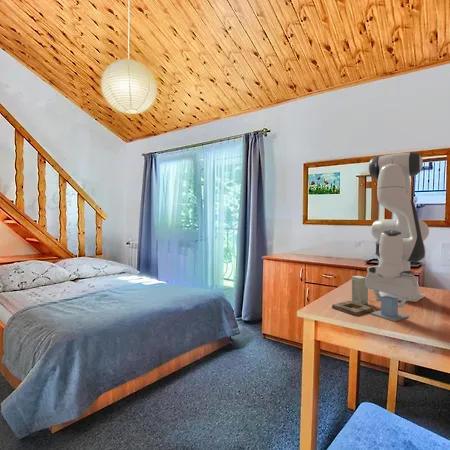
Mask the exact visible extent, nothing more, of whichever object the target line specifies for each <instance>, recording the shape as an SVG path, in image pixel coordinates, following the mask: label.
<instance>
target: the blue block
mask: <svg viewBox="0 0 450 450" xmlns="http://www.w3.org/2000/svg"><path fill="white" fill-rule="evenodd" d="M380 297H381V301H380V310H381V314H384V315H387V316H390V317H393V316H396V315H398V313H399V306H398V305H399V304H398V302H399V301H398V298H396V297H392V296H388V295H387V296H383V297H382V296H380Z"/></svg>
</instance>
